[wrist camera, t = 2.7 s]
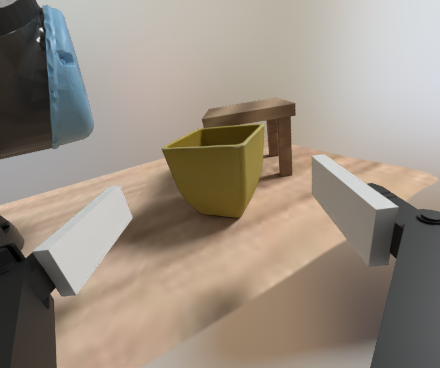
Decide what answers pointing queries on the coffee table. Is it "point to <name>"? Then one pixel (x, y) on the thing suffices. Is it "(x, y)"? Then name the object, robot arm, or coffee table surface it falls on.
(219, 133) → the flower pot
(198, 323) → the coffee table surface
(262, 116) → the stool
